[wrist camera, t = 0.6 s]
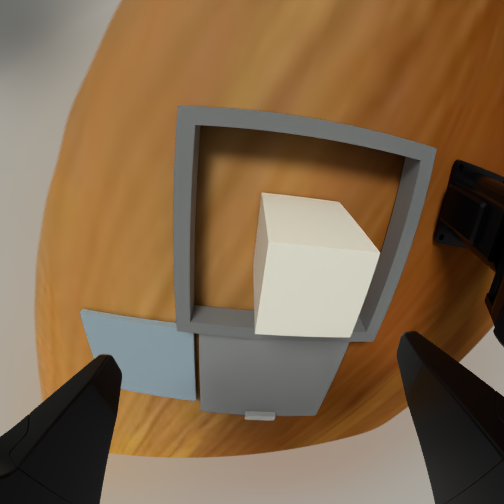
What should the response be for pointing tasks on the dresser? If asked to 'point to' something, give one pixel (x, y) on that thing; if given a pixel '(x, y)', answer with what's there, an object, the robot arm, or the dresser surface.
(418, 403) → the robot arm
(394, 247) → the grey open frame
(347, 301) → the block
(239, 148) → the dresser surface
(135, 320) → the mat
